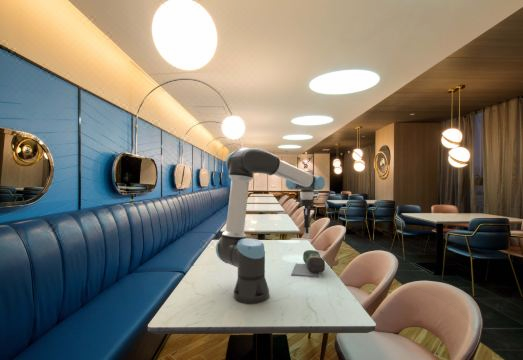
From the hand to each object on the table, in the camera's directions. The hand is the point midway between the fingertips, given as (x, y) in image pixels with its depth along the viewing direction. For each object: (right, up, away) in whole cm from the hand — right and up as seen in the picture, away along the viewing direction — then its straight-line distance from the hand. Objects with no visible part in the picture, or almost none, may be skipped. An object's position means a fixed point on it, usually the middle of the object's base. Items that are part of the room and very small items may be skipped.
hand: (307, 238), depth 160 cm
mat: (-3, -14, -15) cm, 21 cm away
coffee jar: (+2, -10, -4) cm, 11 cm away
